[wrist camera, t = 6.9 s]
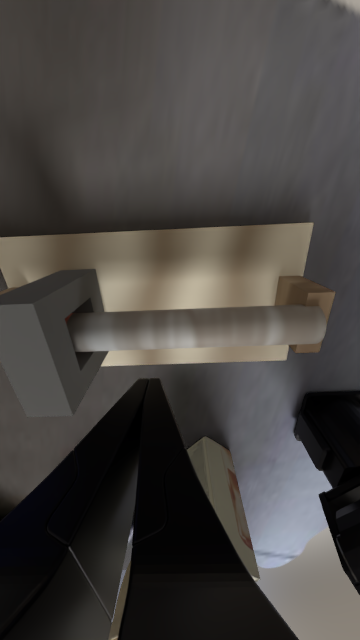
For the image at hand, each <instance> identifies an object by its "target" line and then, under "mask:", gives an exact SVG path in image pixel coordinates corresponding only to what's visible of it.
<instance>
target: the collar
mask: <svg viewBox="0 0 360 640" xmlns="http://www.w3.org/2000/svg"><path fill="white" fill-rule="evenodd" d="M93 312H104V307H103V302H102V297H101V293H100V288H99V283H98V278H97V273H96V269H78V270H60V271H58V272H55V273H53V274H50V275H48V276H45V277H43V278H41V279H38V280H36V281H33V282H31V283H28V284H26V285H23V286H21V287H19V288H16V289H14V290H11V291H9V292H6V293H4V294H1V295H0V362H1V364H2V366H3V369H4V371H5V373H6V375H7V377H8V379H9V381H10V383H11V385H12V387H13V389H14V391H15V393H16V395H17V397H18V399H19V401H20V404H21V406H22V408H23V410H24V412H25V414H26V416H27V417H49V416H73V415H74V413H75V411H76V409H77V408H78V406H79V404H80V402H81V400H82V399H83V397H84V395H85V393H86V391H87V390H88V388H89V386H90V384H91V382H92V381H93V379H94V377H95V375H96V373H97V372H98V370H99V368H100V366H101V365H102V363H103V361H104V359H105V357H106V356H107V354H108V352H109V351H90V352H75V351H74V348H73V345H72V341H71V338H70V335H69V331H68V328H67V325H66V321H65V318H66V317H67V316H69V315H70V314H71V313H93Z"/></svg>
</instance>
